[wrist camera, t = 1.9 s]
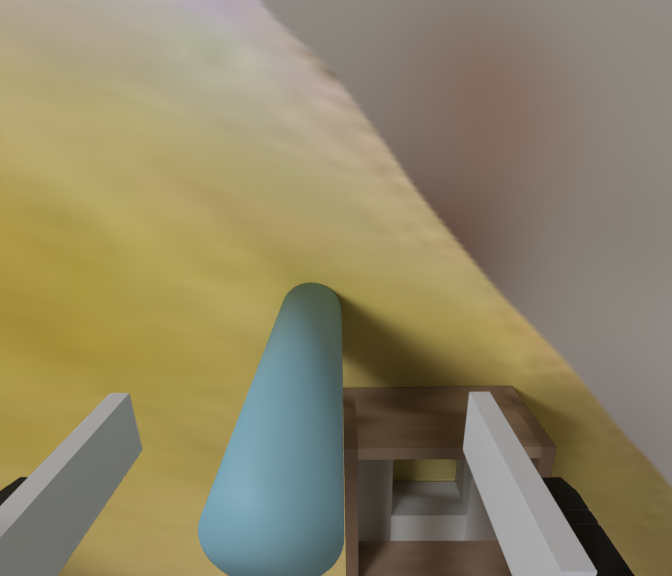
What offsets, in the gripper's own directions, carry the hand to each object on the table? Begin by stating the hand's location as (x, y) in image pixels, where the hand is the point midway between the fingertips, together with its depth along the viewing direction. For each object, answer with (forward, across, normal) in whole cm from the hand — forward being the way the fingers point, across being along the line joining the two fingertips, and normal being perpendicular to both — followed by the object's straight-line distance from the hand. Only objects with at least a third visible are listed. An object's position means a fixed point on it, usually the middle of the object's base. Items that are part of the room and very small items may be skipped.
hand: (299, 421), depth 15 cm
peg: (+11, 0, 0) cm, 11 cm away
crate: (+11, +8, -12) cm, 18 cm away
